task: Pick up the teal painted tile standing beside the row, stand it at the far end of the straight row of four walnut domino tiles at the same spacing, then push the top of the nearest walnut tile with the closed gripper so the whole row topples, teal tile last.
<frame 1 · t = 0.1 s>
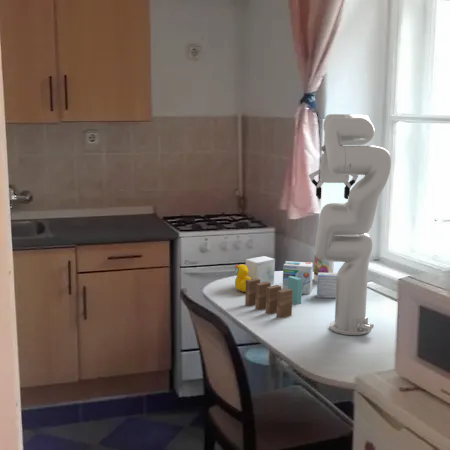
hand: (332, 198, 245), 37 cm above the table, tool pointing down, fingers open, 9 cm apart
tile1: (284, 316, 232), on the table
light bulb box: (297, 291, 263), on the table
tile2: (273, 312, 237), on the table
teal tile: (294, 302, 249), on the table
tile4: (252, 304, 245), on the table
milk bottle: (323, 281, 278), on the table
skincare box: (259, 285, 271), on the table
duckling: (242, 291, 262), on the table
tile3: (262, 308, 241), on the table
medicine box: (327, 297, 256), on the table
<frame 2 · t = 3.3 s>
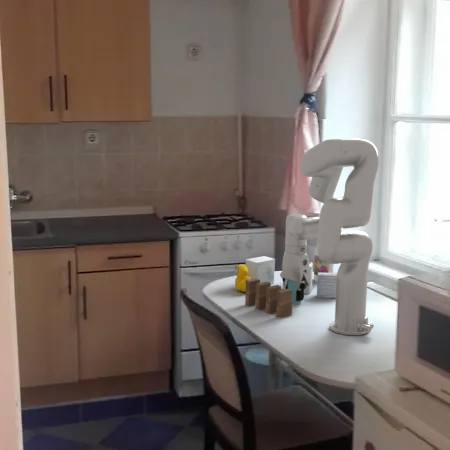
hand: (294, 298, 248), 1 cm above the table, tool pointing down, fingers closed on teal tile, 4 cm apart
teal tile: (294, 302, 249), on the table, touching gripper
everything else where it was.
when the fingers open (2 cm above the table, at t = 8.6 s): teal tile stays where it is, on the table.
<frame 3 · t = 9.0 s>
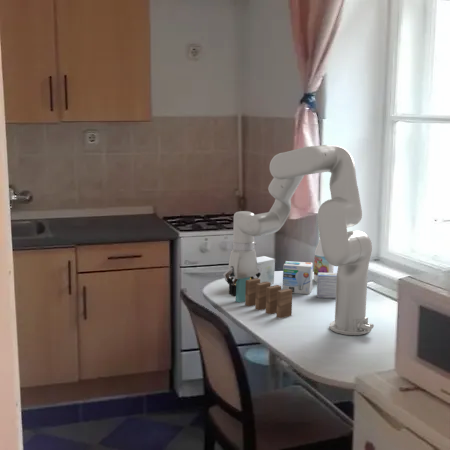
hand: (242, 293, 249), 3 cm above the table, tool pointing down, fingers open, 9 cm apart
teal tile: (242, 300, 250), on the table
everything else where it was.
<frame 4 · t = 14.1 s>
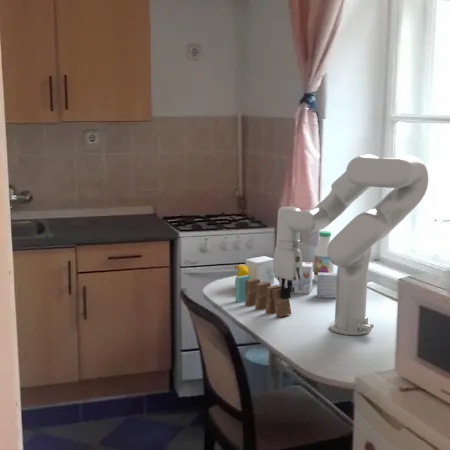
hand: (285, 298, 231), 6 cm above the table, tool pointing down, fingers closed
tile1: (283, 315, 232), on the table, tilted 16°
everything else where it was.
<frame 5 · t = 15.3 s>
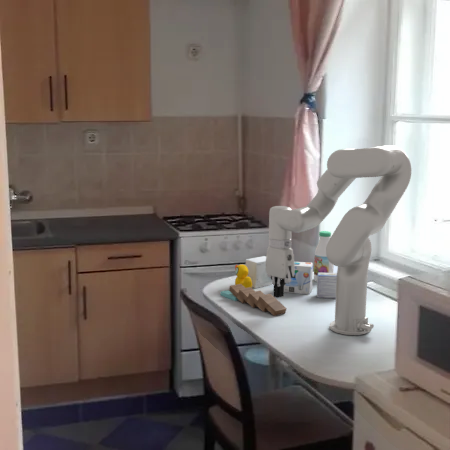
hand: (278, 296, 234), 6 cm above the table, tool pointing down, fingers closed
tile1: (280, 312, 234), point 1 cm above the table, tilted 68°, touching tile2
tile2: (269, 308, 238), point 1 cm above the table, tilted 69°, touching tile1, tile3
teal tile: (240, 298, 251), on the table, tilted 90°, touching tile4
tile4: (248, 300, 247), point 1 cm above the table, tilted 72°, touching teal tile, tile3
tile3: (259, 304, 242), point 1 cm above the table, tilted 70°, touching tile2, tile4
everything else where it was.
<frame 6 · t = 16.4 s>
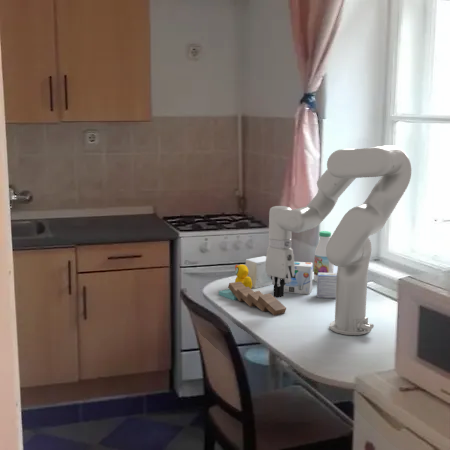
hand: (278, 296, 234), 6 cm above the table, tool pointing down, fingers closed
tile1: (280, 311, 234), point 1 cm above the table, tilted 69°, touching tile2
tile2: (269, 308, 238), point 1 cm above the table, tilted 71°, touching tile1
tile4: (246, 298, 249), point 1 cm above the table, tilted 70°, touching teal tile, tile3
tile3: (256, 303, 243), point 1 cm above the table, tilted 71°, touching tile4
everything else where it was.
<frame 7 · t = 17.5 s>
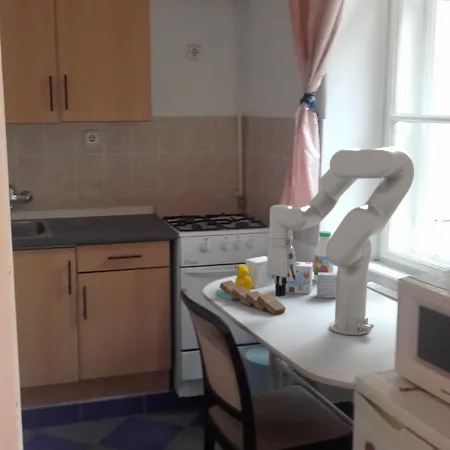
hand: (280, 295, 233), 7 cm above the table, tool pointing down, fingers closed
teal tile: (236, 297, 252), on the table, tilted 90°, touching tile4
tile4: (241, 296, 249), point 1 cm above the table, tilted 70°, touching teal tile
tile3: (254, 302, 244), point 1 cm above the table, tilted 70°
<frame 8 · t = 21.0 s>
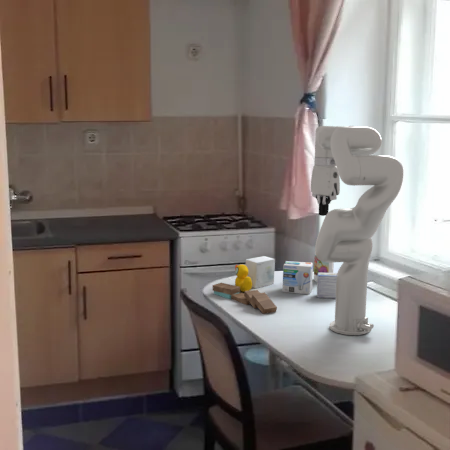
hand: (323, 215, 241), 32 cm above the table, tool pointing down, fingers closed
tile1: (270, 310, 235), point 1 cm above the table, tilted 70°, touching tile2
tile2: (261, 305, 241), point 1 cm above the table, tilted 76°, touching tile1
teal tile: (234, 296, 253), on the table, tilted 90°, touching tile4
tile4: (235, 290, 253), point 2 cm above the table, tilted 90°, touching teal tile
tile3: (251, 302, 246), on the table, tilted 90°
everything else where it was.
at the end: teal tile tilted 90°; tile3 tilted 90°; the gripper is holding nothing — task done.
